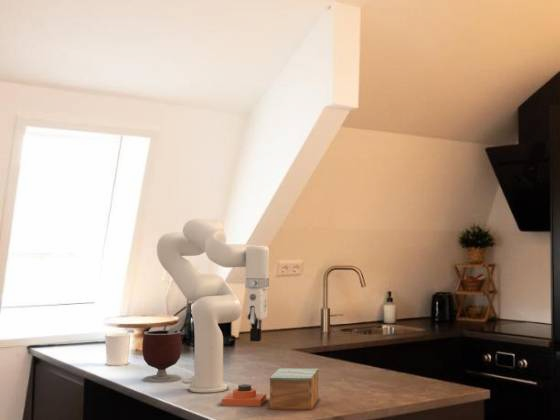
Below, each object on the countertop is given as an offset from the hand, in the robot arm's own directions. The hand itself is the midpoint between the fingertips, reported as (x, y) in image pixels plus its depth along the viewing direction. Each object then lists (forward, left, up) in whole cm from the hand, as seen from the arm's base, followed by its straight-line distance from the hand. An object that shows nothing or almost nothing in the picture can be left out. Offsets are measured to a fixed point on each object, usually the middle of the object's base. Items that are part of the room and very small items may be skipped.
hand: (255, 340), depth 245 cm
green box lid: (+14, -7, -10) cm, 19 cm away
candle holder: (-71, +65, -19) cm, 98 cm away
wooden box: (+14, -7, -19) cm, 24 cm away
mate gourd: (-41, +33, -19) cm, 56 cm away
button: (-2, -6, -15) cm, 16 cm away
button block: (-2, -6, -19) cm, 20 cm away
